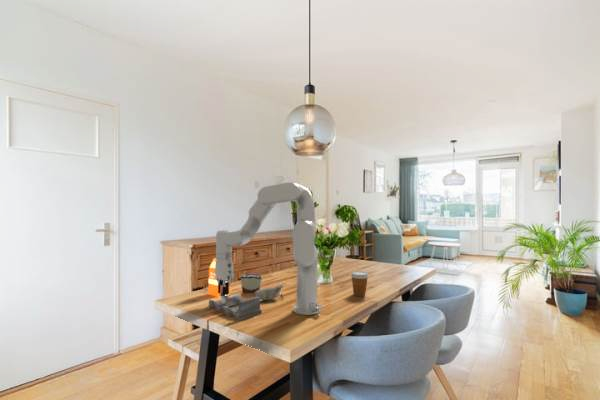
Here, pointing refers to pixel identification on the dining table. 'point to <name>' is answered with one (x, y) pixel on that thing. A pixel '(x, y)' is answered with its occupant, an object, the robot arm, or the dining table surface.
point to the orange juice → (213, 280)
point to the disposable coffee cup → (359, 282)
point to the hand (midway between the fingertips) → (223, 293)
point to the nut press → (239, 308)
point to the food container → (250, 283)
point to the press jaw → (229, 298)
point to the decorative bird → (269, 293)
